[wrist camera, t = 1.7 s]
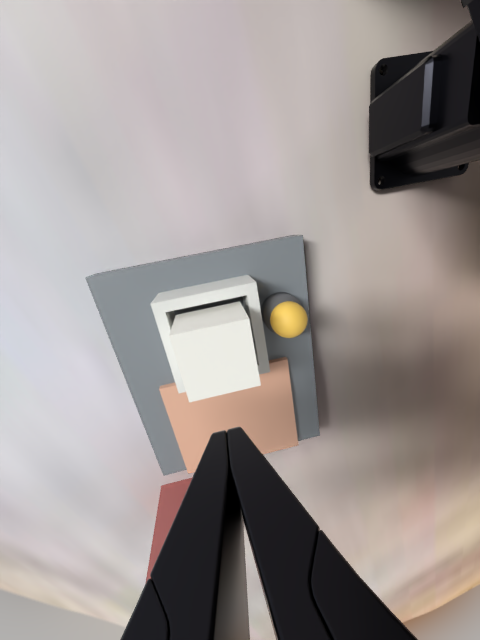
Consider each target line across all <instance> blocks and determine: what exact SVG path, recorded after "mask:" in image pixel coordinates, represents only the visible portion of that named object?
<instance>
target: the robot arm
mask: <svg viewBox="0 0 480 640" xmlns="http://www.w3.org/2000/svg"><path fill="white" fill-rule="evenodd" d="M461 3H462V5H463V8H464V7H465V6H466V5H467V7H468V10H469V13H470V16H471V18H472V21H471V22H470V23H469V24H467V25H466V26H465V27H463V28H462V29H461V30H460V31H458V32H457V33H456V34H455V35H453V36H452V37H451V38H449V39H448V40H447V41H446V42H444V43H443V44H442V45H441V46H439V47H438V48H437V49H435V50H434V51H431V52H424V53H417V54H410V55H403V56H396V57H390V58H383V59H381V60H380V61H379V62H378V63H377V64H376V65H375V66H374V67H373V68H372V71H371V104H370V106H369V153H370V185H371V188H372V189H373V190H382V189H388V188H393V187H398V186H404V185H409V184H414V183H420V182H425V181H430V180H436V179H441V178H447V177H452V176H457V175H461V174H463V173H464V172H465V171H466V170H467V168H468V164H469V162H473V161H477V160H480V0H461ZM379 69H382V71H383V76H382V75H381V74H380V72H379ZM458 165H459V169H458ZM379 178H380V179H381V184H380V185H379V184H378V179H379ZM242 515H243V517H242ZM243 519H244V523H245V527H246V530H247V534H248V538H249V541H250V545H251V549H252V552H253V556H254V560H255V563H256V567H257V571H258V574H259V578H260V582H261V585H262V589H263V593H264V596H265V600H266V604H267V607H268V611H269V615H270V618H271V622H272V626H273V629H274V633H275V637H276V640H418V639H417V638H416V637H415V636H414V635H413V634H412V633H411V632H410V631H409V630H408V629H407V628H406V627H405V625H403V623H402V622H401V621H400V620H399V619H398V618H397V617H396V616H395V615H394V614H393V613H392V612H391V611H390V610H389V609H388V607H387V606H386V605H385V604H384V603H383V602H382V601H381V600H380V599H379V597H378V596H377V595H376V594H375V593H374V592H373V591H372V590H371V589H370V588H369V586H368V585H367V584H366V583H365V582H364V581H363V580H362V579H361V578H360V577H359V575H358V574H357V573H356V572H355V571H354V569H353V568H352V567H351V566H350V564H349V563H348V562H347V561H346V560H345V558H344V557H343V556H342V555H341V554H340V552H339V551H338V550H337V549H336V547H335V546H334V545H333V544H332V542H331V541H330V540H329V539H328V537H327V536H326V535H325V533H324V532H323V531H322V530H320V528H319V526H318V525H317V523H316V522H315V521H314V520H313V518H312V517H311V516H310V515H309V513H308V512H307V511H306V509H305V508H304V507H303V506H302V504H301V503H300V502H299V500H298V499H297V498H296V497H295V495H294V494H293V493H292V491H291V490H290V489H289V488H288V486H287V485H286V484H285V483H284V481H283V480H282V479H281V477H280V476H279V475H278V474H277V472H276V471H275V470H274V468H273V467H272V466H271V465H270V463H269V462H268V461H267V459H266V458H265V457H264V456H263V454H262V453H261V452H260V451H259V449H258V448H257V447H256V445H255V444H254V443H253V442H252V440H251V439H250V438H249V436H248V435H247V434H246V433H245V431H244V430H243V429H242V428H241V427H235V428H231V429H228V430H227V432H226V431H225V430H222V431H218V432H214V433H213V434H212V435H211V437H210V439H209V441H208V444H207V446H206V448H205V450H204V453H203V455H202V457H201V459H200V462H199V464H198V466H197V469H196V471H195V473H194V475H193V478H192V480H191V482H190V484H189V487H188V489H187V491H186V494H185V496H184V498H183V500H182V503H181V505H180V507H179V510H178V512H177V514H176V516H175V519H174V521H173V523H172V525H171V528H170V530H169V532H168V535H167V537H166V539H165V541H164V544H163V546H162V548H161V551H160V553H159V555H158V557H157V560H156V562H155V564H154V566H153V569H152V571H151V573H150V577H151V579H148V580H147V582H146V584H145V586H144V589H143V591H142V593H141V596H140V598H139V600H138V603H137V605H136V607H135V609H134V611H133V614H132V616H131V618H130V620H129V622H128V624H127V627H126V629H125V631H124V633H123V635H122V638H121V640H250V634H249V616H248V599H247V582H246V564H245V547H244V529H243Z"/></svg>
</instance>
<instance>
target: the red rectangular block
mask: <svg viewBox="0 0 480 640" xmlns="http://www.w3.org/2000/svg"><path fill="white" fill-rule="evenodd" d="M191 480H192V478H189V479H185V480H181V481H178V482H174V483H170V484H166V485H162V486H161V492H160V498H159V504H158V510H157V516H156V523H155V529H154V535H153V541H152V547H151V553H150V560H149V566H148V572H147V578H146V582H147V580H148V579H151V577H150V573H151V571H152V569H153V566H154V564H155V562H156V560H157V557H158V555H159V553H160V551H161V548H162V546H163V544H164V541H165V539H166V537H167V535H168V532H169V530H170V528H171V525H172V523H173V521H174V519H175V516H176V514H177V512H178V510H179V507H180V505H181V503H182V500H183V498H184V496H185V494H186V491H187V489H188V487H189V484H190V482H191Z"/></svg>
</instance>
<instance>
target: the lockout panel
mask: <svg viewBox="0 0 480 640" xmlns="http://www.w3.org/2000/svg"><path fill="white" fill-rule="evenodd" d="M86 281H87V283H88V286H89V288H90V291H91V293H92V296H93V298H94V301H95V303H96V306H97V308H98V311H99V314H100V316H101V319H102V321H103V324H104V326H105V329H106V331H107V334H108V336H109V339H110V341H111V344H112V346H113V349H114V351H115V354H116V357H117V359H118V362H119V364H120V367H121V369H122V372H123V374H124V377H125V379H126V382H127V384H128V387H129V389H130V392H131V394H132V397H133V400H134V402H135V405H136V407H137V410H138V412H139V415H140V417H141V420H142V422H143V425H144V427H145V430H146V432H147V435H148V437H149V440H150V443H151V445H152V448H153V450H154V453H155V455H156V458H157V460H158V463H159V465H160V468H161V470H162V473H163V475H168V474H172V473H176V472H180V471H184V470H187V471H188V474H189V473H193V472H195V471H196V469H197V466H198V464H199V462H200V459H201V457H202V455H203V453H204V450H205V448H206V446H207V444H208V441H209V439H210V437H211V435H212V434H213V433H214V432H218V431H222V430H225V431H226V432H227V430H228V429H231V428H235V427H241V428H242V429H243V430H244V431H245V433H246V434H247V435H248V436H249V438H250V439H251V440H252V442H253V443H254V444H255V445H256V447H257V448H258V449H259V451H260V452H261V453H262V454H266V453H270V452H274V451H278V450H282V449H286V448H290V447H293V446H297V445H298V441H300V440H304V439H308V438H312V437H316V436H320V432H319V421H318V409H317V397H316V385H315V374H314V362H313V350H312V339H311V327H310V315H309V303H308V292H307V280H306V268H305V257H304V245H303V235H291V236H286V237H281V238H276V239H271V240H266V241H261V242H255V243H250V244H245V245H240V246H235V247H230V248H225V249H220V250H215V251H209V252H204V253H199V254H194V255H189V256H184V257H179V258H174V259H168V260H163V261H158V262H153V263H148V264H143V265H138V266H133V267H128V268H122V269H117V270H112V271H107V272H102V273H97V274H94V275H91V276H88V277H86ZM239 301H240V303H241V304H242V306H243V308H244V310H245V312H246V314H247V315H248V317H249V320H250V326H251V332H252V337H253V343H254V349H255V354H256V360H257V366H258V372H259V377H260V383H261V386H256V387H252V388H248V389H244V390H240V391H235V392H231V393H227V394H223V395H219V396H214V397H210V398H206V399H202V400H198V401H193V402H189V400H188V397H187V393H186V390H185V387H184V384H183V380H182V377H181V374H180V370H179V367H178V364H177V360H176V357H175V354H174V351H173V347H172V344H171V341H170V337H169V335H170V331H171V328H172V325H173V322H174V319H175V316H176V315H178V314H183V313H187V312H192V311H197V310H201V309H206V308H211V307H216V306H220V305H225V304H230V303H234V302H239Z"/></svg>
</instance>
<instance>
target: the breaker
mask: <svg viewBox="0 0 480 640" xmlns="http://www.w3.org/2000/svg"><path fill="white" fill-rule="evenodd" d="M169 337H170V341H171V344H172V347H173V351H174V354H175V357H176V360H177V364H178V367H179V370H180V374H181V377H182V380H183V384H184V387H185V390H186V393H187V397H188V400H189V402H193V401H198V400H202V399H206V398H210V397H214V396H219V395H223V394H227V393H231V392H235V391H240V390H244V389H248V388H252V387H256V386H261V383H260V377H259V372H258V366H257V360H256V354H255V349H254V343H253V337H252V332H251V326H250V320H249V317H248V315H247V314H246V312H245V310H244V308H243V306H242V304H241V303H240V301H239V302H234V303H230V304H225V305H220V306H216V307H211V308H206V309H201V310H197V311H192V312H187V313H183V314H178V315H176V316H175V319H174V322H173V325H172V328H171V331H170V335H169Z"/></svg>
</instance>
